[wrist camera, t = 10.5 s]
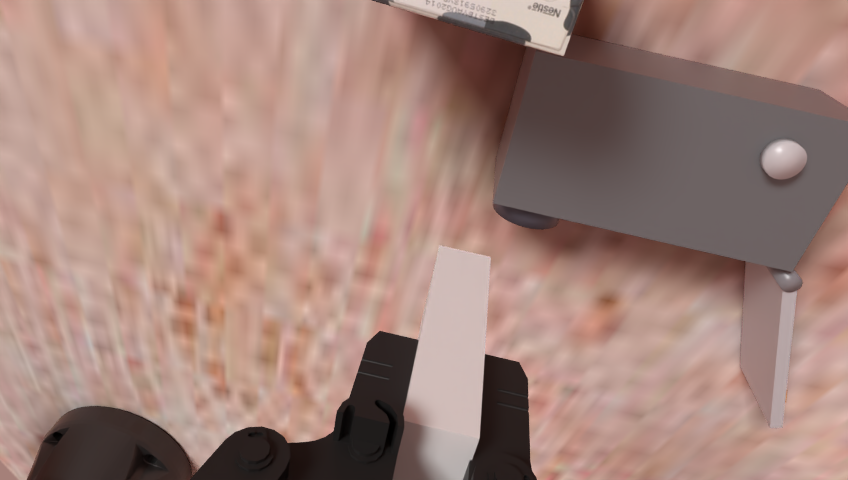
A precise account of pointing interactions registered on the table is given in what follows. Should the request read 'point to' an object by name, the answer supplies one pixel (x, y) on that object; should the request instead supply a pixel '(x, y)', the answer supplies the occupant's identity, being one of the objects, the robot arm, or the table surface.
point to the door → (768, 336)
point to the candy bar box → (505, 18)
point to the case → (670, 152)
